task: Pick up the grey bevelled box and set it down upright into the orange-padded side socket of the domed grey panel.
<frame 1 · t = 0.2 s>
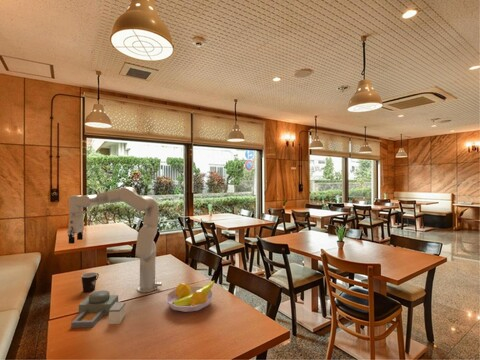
hand: (75, 241, 167), 31 cm above the table, fingers open, 9 cm apart
fruit bowl: (191, 305, 150), on the table
domed grey panel: (95, 313, 140), on the table
grey bevelled box: (117, 319, 134), on the table
coffee mug: (91, 290, 169), on the table
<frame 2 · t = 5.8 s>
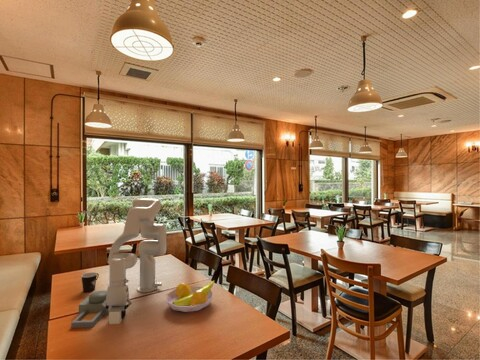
hand: (117, 317, 134), 1 cm above the table, fingers closed on grey bevelled box, 5 cm apart
grey bevelled box: (117, 319, 134), on the table, touching gripper
everything else where it was.
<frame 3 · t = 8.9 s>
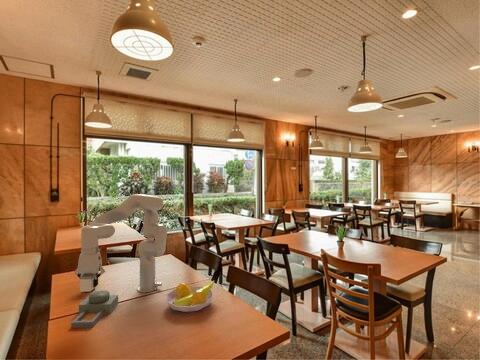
hand: (89, 286, 133), 17 cm above the table, fingers closed on grey bevelled box, 5 cm apart
grey bevelled box: (89, 288, 133), point 16 cm above the table, touching gripper
everything else where it was.
when the fingers open (3 cm above the table, at t = 12.1 s): grey bevelled box drops 2 cm, resting on domed grey panel.
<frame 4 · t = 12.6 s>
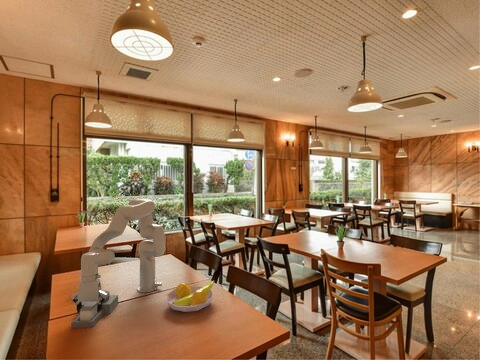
hand: (89, 311, 133), 4 cm above the table, fingers open, 9 cm apart
grey bevelled box: (89, 318, 133), resting on domed grey panel
everything else where it was.
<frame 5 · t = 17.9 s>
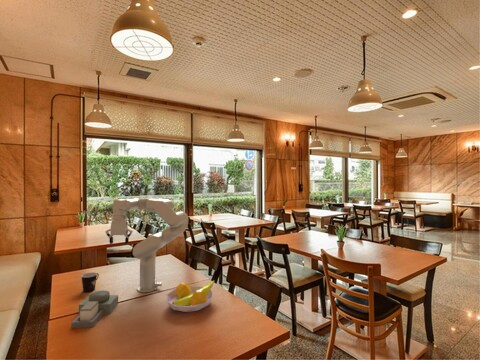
hand: (119, 243, 174), 28 cm above the table, fingers open, 9 cm apart
nothing on the table moved.
at the end: grey bevelled box 0.0 cm from the target spot, resting on domed grey panel; grey bevelled box tilted 0°; the gripper is holding nothing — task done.
